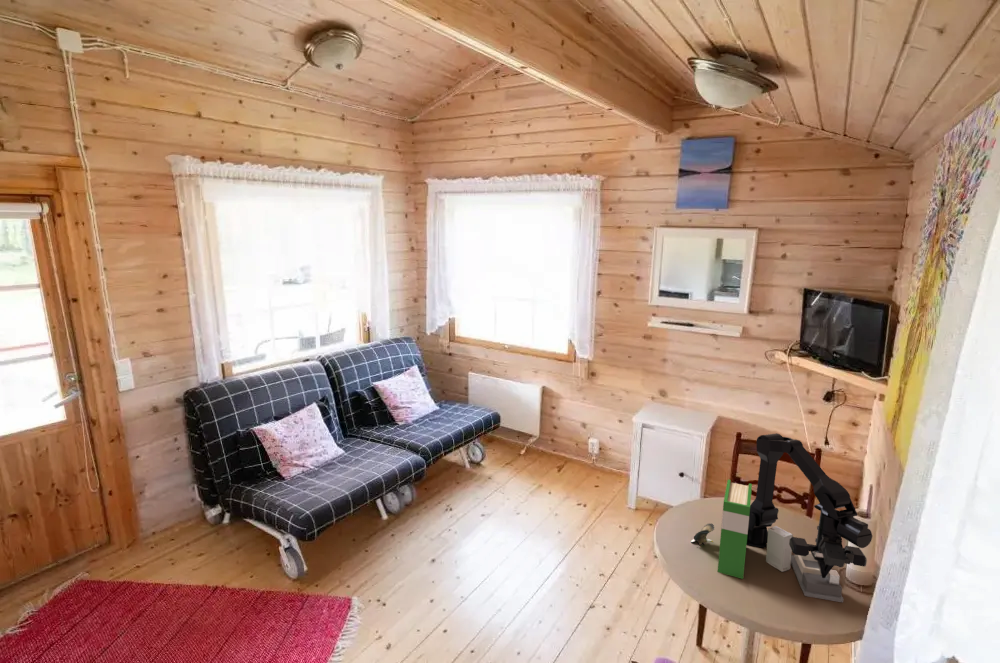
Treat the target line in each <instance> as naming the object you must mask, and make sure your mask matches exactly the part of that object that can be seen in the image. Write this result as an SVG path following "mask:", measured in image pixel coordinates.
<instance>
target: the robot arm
mask: <svg viewBox="0 0 1000 663" xmlns="http://www.w3.org/2000/svg"><path fill="white" fill-rule="evenodd" d="M755 443H756V453H757V455H758V456H759V459H760V461H759V462H760V463H759V469H758V470H759V471H758V478H757V484H756V485H757V487H756V493H755V494H756V496H755V499H753V501H751V502H752V503H750V514H749V524H748V534H747V544H746V546H750V547H751V546H752V547H760V548H765V549H767V539H768V527H769V528H772V527H773V524H775V523H776V521H777V520H779V518H778V515H779V508H778V507H776V506H775V504H774V503H773V500H774V499H773V498H774V490H775V481H776V476H777V475H776V472H777V466H778V462H779V460H780V459H781V457H783V455H784V453H785V454H787V455H788V456H789V457H790V458H791V460H792V461H793V462H794V463H795V465H796V466H797V467H798V469H799V470H800V471H801V472H802V474H803V475H804V476H805V477H806V478H807V480H808V481H809V483H810V484H811V486H812V487H813V494H814V495H815V498H816V499H817V500H818V502H819V503H816V504H814V505H813V508H814V509H816V510H818V511H820V513H819V522H818V525H817V526H816V529H817V535H816V537H815V541H814V542H815V543H816V544H811V543H807V541H806V539H805V538H802V537H797V536H793V537H792V538H790V541H789V545H790V547H791V550H792V552H791V553H792V555H800V556H807V555H809V552H811V553H812V555H813V557H814V559H815V560H817V562H818V565H819V569H820V573H821V576H822V578H825V577H826V576H827V574H828V573H829V572H830V570H833V568H834V567H838V568H844V566H845V565H851V564H853V565H854V566H859V567H863V568H864V567H867V562H868V560H867V557H866V555H865V554H864V552H863V551H862V549H865V548H867V547H868V546H869V545H870V544H871V542H872V539H873V533H872V530H871V529H870V528H869V523H866V522H864V521H863V520H862V521H861V520H860V519H858V518H856V517H857V516H858V513H857V510H856V508H855V505H854V504H853V501H852V499H851V495H850V493H849V491H848V490H847V489H846V488H845V487H844V486H843V485H841V483H840V482H838V481H836V480H835V479H833V478H831V477H830V476H829V475H827V473H825V471H824V470H823V469H822V468H821V466H820V465H819V463H817V461H816V460H815V459H814V458H813V457H812V455H811V453H809V451H807V449H806V447H804V444H803V443H802V441H801V440H799V439H796V438H795V439H794V438H791V437H788V436H783V435H781V434H780V433H768V434H761V435H759V436H758V437H757V438H756V442H755ZM842 508H845V509H843V510H842ZM838 509H841V510H838ZM843 539H844V540H846V541H848V542H849V543H851V544H853V545H854V546H852V545H851V546H850V545H845V546H844V547H843Z"/></svg>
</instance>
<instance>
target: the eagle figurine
mask: <svg viewBox="0 0 1000 663" xmlns="http://www.w3.org/2000/svg"><path fill="white" fill-rule="evenodd" d="M714 530H715V524H713V523H707V524H705V525H704V526H703V527H702V528H701V530H700V531H698V532H696V533H695V535H694V536H693V538H692V539H691V541H690V543H694V542H698V546H699V547H700V548H702V547H703V546H705V543H707V544H708V543H714V541H713V540H712V539H709V538H707V535H708V534H710V533H711V532H713V531H714ZM699 547H696V549H698V548H699Z"/></svg>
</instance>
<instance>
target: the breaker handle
mask: <svg viewBox="0 0 1000 663" xmlns="http://www.w3.org/2000/svg"><path fill="white" fill-rule="evenodd" d="M840 577H841V576H840V574H839V572H838V571H837V570H836V569H831V570H830V572H829V573H828V574H827V576H826V578H827V580H828V582H829V584H835V585H839V583H840V579H841V578H840Z"/></svg>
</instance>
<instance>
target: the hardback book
mask: <svg viewBox="0 0 1000 663" xmlns="http://www.w3.org/2000/svg"><path fill="white" fill-rule="evenodd" d="M726 482H727V483H726V487H725V491H724V496H723V497H724V499H723V506H722V516H721V517H722V518H721V519H722V520H721V528H720V539H719V552H718V561H717V562H718V563H717V573H720V574H723V575H726V576H731V577H735V578H737V579H742V580H744V574H745V562H746V554H747V545H746V544H747V534H748V524H749V514H750V505H751V504H752V503H751V502H752V500H751V499H752V486H753V484H752V483H748V485H745V484H741V483H736V482H731V479H728V478H727V480H726Z"/></svg>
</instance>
